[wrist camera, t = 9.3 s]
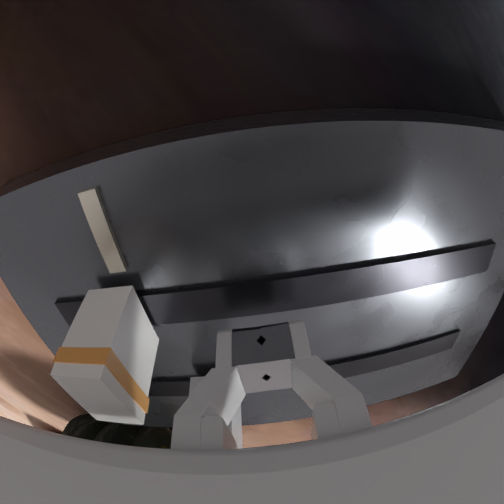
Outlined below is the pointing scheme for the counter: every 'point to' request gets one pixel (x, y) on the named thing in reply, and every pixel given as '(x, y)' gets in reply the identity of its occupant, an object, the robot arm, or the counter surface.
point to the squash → (118, 433)
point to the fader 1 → (109, 356)
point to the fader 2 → (236, 422)
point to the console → (276, 243)
